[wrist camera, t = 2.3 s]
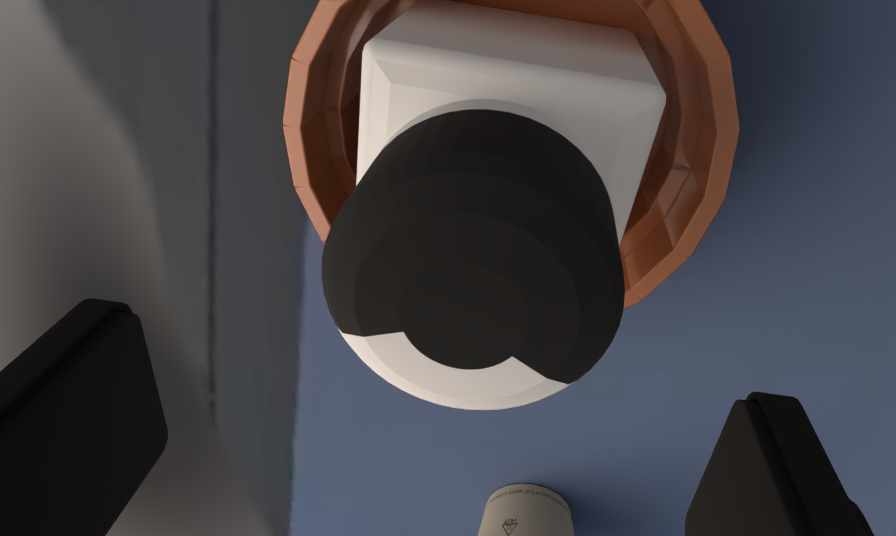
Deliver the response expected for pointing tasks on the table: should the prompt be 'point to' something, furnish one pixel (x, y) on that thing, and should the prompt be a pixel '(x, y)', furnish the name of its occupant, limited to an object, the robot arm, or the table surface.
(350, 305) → the medicine bottle
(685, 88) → the bowl
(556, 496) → the coffee cup
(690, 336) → the table surface
